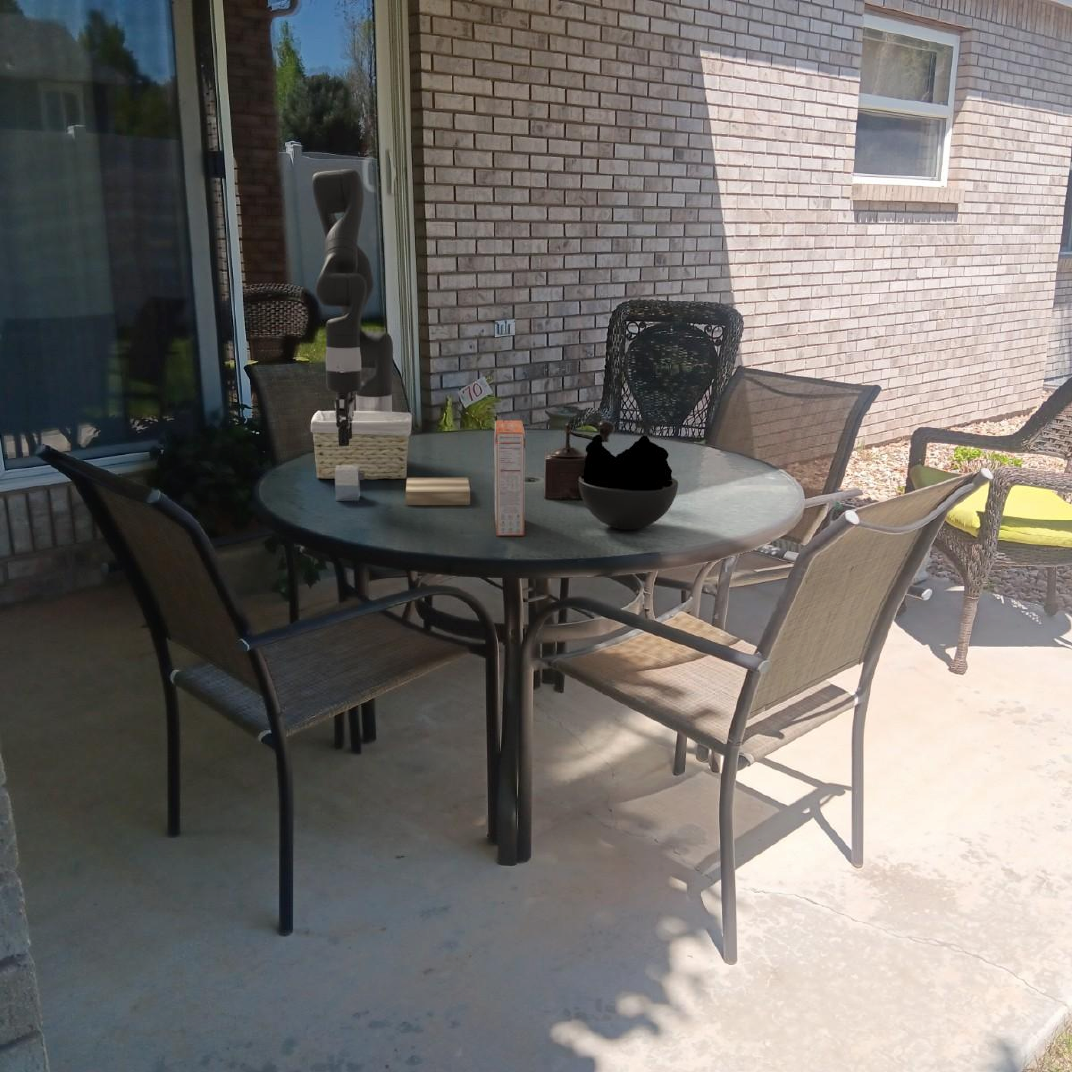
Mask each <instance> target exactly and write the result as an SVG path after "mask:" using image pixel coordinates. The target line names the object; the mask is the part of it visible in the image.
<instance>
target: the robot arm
mask: <svg viewBox="0 0 1072 1072" xmlns="http://www.w3.org/2000/svg"><path fill="white" fill-rule="evenodd" d="M311 187H312V189H311V190H312V193H313V198H314V202H315V206H316V207H315V208H316V210H317V212H318V213H317V214H318V217H319V221H320V222H321V223H320V224H321V226H322V231H323V234H324V237H325V241H324V264H323V266H322V268H321V271H320V272H319V275H318V277H317V280H316V284H315V295H316V299H317V300H318V302H319V303H320V304H321V305H323V306H325V307H327V308H328V307H333V308H335V307H337V308H338V307H339V308H340V310H341V314H342V315H341V316H340V317H335V318H334V317H333V318H330V319H329V320H327V321H326V324H325V337H326V338H325V341H326V343H325V345H326V348H325V349H326V351H325V376H326V377H325V378H326V379H325V380H326V381H325V384H326V389H327V391H330V392H337V397H335V399H334V408H335V410H334V411H335V416H336V422H337V423H336V425H337V428H338V437H339V446H348V445H349V439H351V438H352V420H353V415H354V411H383V412H393V399H392V397H393V395H392V394H393V393H392V390H393V389H392V388H393V360H394V344H393V339H392V337H391V336H392V335H390V334H389V333H388V332H385V331H366V330H363V329H362V325H361V319H362V315H363V312H364V310H365V307H366V306H367V305H368V302H369V300H370V298H371V296H372V294H373V291H374V284H375V283H374V277H373V273H372V267H371V263H370V260H369V258H368V256H367V254H366V253H365V252H364V251H363V249H362V248H361V247H360V246H359V245H358V238H359V233H360V227H361V222H362V218H363V217H362V216H363V215H362V214H363V210H364V209H363V208H364V201H365V200H364V198H365V197H364V188H363V183H362V179H361V175H360V174H359V172H358V171H357V170H355V169H351V168H349V169H346V168H345V169H343V168H342V169H334V170H325V171H319V172H316V173H314V174H313V176H312V178H311ZM340 213H342V215H341V216H340V218H339V219H337V217H336V215H335V214H340ZM362 368H363V369H375V374H374V376H372V377H370V378H369V379H366V380H363V381H362ZM354 392H355V398H354V397H353V395H354ZM354 406H355V407H356V410H355V408H354ZM340 420H341V421H340Z"/></svg>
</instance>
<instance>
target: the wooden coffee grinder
mask: <svg viewBox="0 0 1072 1072" xmlns="http://www.w3.org/2000/svg"><path fill="white" fill-rule="evenodd" d="M571 427H572V425H571V423H566V424H565V430H564V433H565V444H564V445H563V446H560V447H558V448H556V449H555V450H545V452H544V469H543V470H544V471H543V488H542V490H543V498H544V499H545V500H565V501H566V500H567V501H569V500H583V499H582V496H581V493H580V489H579V478H580V476H582V475H584V467H585V459H586V455H587V452H586V451H581V450H580V449H578V448H577V447H576V446H575V447H574V446H571V443H570V440H571V439H570V438H571V436H573V437H576V438H581V439H586V440H589V441H592V439H593V437H594V436H592V435H588V434H584V433H578V432H574V431H572V429H571ZM597 428H598V431H599V433H598V435H600V436H601V437H602V443H608V442H610V440H609V437H610V435H611V434H613V433H614V432H615V429H616V427H615V424H613V422H611V421H609V420H605V419H604V420H602V421H600V422H599V423H598V425H597Z"/></svg>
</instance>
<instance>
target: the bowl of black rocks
mask: <svg viewBox="0 0 1072 1072" xmlns="http://www.w3.org/2000/svg"><path fill="white" fill-rule="evenodd" d="M650 440H651V439H650V438H649V437H648V435H642V436H640V438H639V439H638V440H637V441H634V443H633V444H632V445H631V446H630V447H629V448H627V449H624V450H623V451H621V452H620V453H617V454H616V456H615V455H614V454H612V453H611V452H610V451H609V450H608V449H607V448H606V447H605V446H604V445H603V442H602V437H601V436H600V435H599V434H596V435H594V436H593V439H592V440H591V441H590V442H589V443H588V444H587V445H586V446H585V447H586V448H585V449H584V452H587V455H586V459H585V467H584V475H582V476H580V478H579V489H580V493H581V496H582V499H581V500H582V501H583V503H584V505H585V507H586V508H587V510H588V511H589V512H590V513H591V515H592V516H594V517H595V518H596V519H597V520H599V521H600V522H602V523H603V524H605V525H606V526H609V527H611V528H615V529H617V530H618V529H619V530H627V531H628V530H637V529H643V528H646V527H648V526H650V525H652V524H653V523H655V522H657V521H659V520H660V519H661V518H662V517H663V516H664V515H665V514H666V513H667V512H668V510H670V508H671V506H672V504H673V503H674V501H675V499H676V496H677V492H678V488H679V481H678V480H677V479H675V477H673V476H672V473H673V470H672V468H671V466H670V465H669V463H668V460H667V459H668V458H669V456H670V454H669V453H668V450H666V449H665V448H664V447H662V446H659V445H658V444H657V443H654V442H652V441H650Z"/></svg>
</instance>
